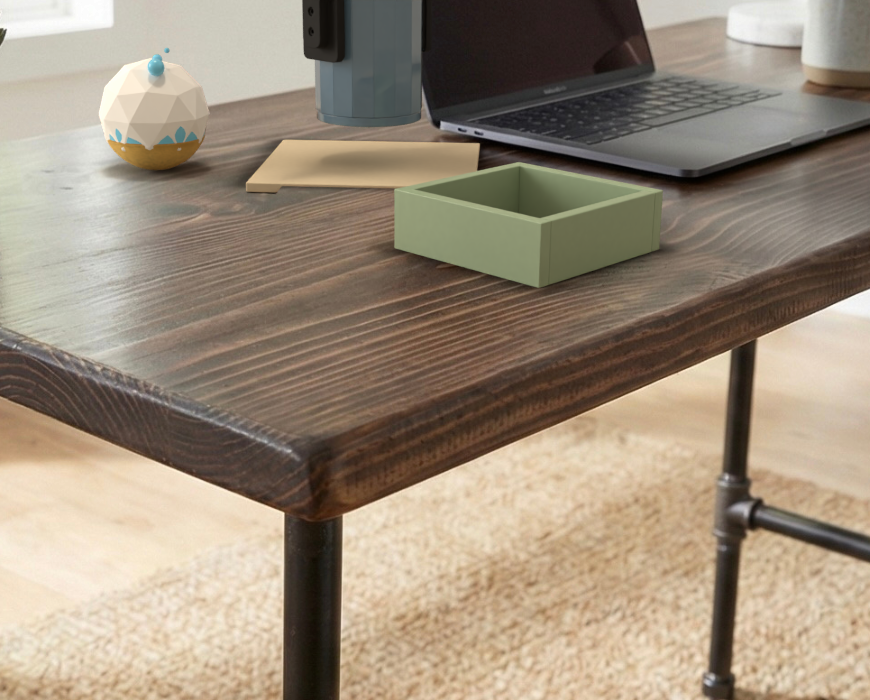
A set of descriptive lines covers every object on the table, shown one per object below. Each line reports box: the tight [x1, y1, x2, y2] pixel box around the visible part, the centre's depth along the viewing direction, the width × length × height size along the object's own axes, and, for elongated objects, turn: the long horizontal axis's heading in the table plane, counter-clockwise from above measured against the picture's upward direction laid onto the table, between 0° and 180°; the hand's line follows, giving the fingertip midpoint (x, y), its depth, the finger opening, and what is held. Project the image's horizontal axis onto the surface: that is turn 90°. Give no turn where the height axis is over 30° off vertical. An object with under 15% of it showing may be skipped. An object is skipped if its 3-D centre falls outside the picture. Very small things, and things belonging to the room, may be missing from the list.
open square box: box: [393, 161, 664, 289], centre depth 66 cm, size 10×10×4 cm
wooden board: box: [245, 139, 481, 194], centre depth 86 cm, size 14×14×1 cm
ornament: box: [98, 47, 211, 171], centre depth 84 cm, size 7×7×8 cm
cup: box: [314, 0, 423, 128], centre depth 83 cm, size 7×7×9 cm
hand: (368, 52), depth 83 cm, fingers closed on cup, 6 cm apart
